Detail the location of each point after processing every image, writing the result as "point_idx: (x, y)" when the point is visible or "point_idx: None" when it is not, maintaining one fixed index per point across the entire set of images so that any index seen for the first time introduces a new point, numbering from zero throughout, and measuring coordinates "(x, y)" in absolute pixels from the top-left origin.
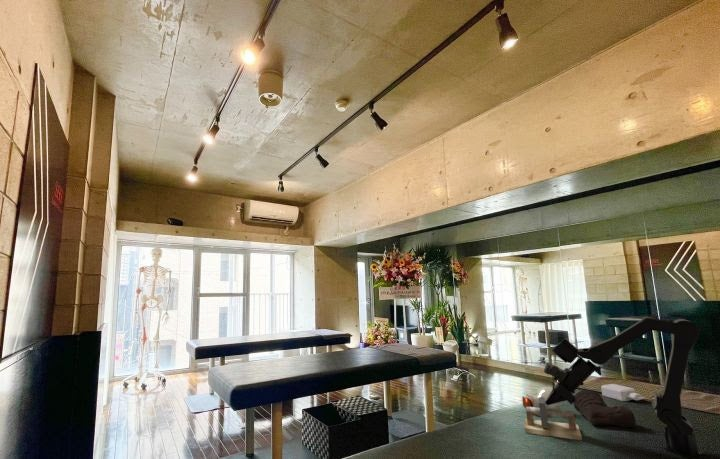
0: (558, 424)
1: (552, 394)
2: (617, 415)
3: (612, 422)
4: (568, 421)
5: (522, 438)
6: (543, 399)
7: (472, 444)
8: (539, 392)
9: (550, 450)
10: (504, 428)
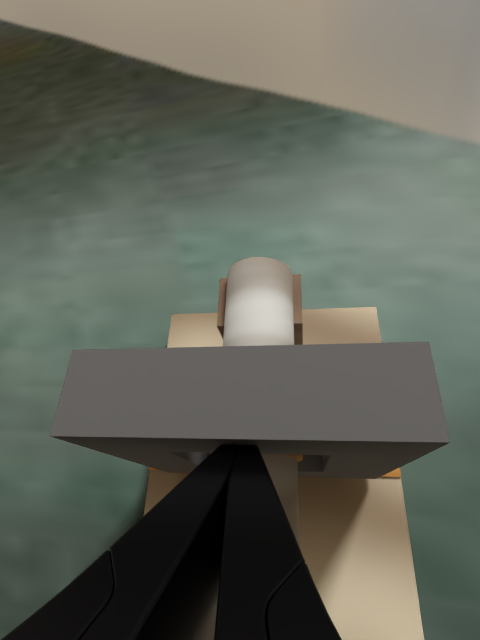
0: (351, 584)
1: (34, 637)
2: None
3: None
4: None
5: (92, 319)
6: (278, 415)
7: (6, 161)
8: None
9: None
10: (218, 228)
